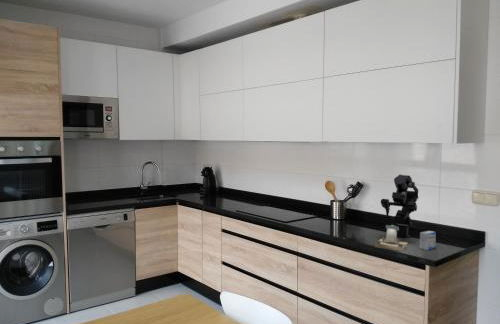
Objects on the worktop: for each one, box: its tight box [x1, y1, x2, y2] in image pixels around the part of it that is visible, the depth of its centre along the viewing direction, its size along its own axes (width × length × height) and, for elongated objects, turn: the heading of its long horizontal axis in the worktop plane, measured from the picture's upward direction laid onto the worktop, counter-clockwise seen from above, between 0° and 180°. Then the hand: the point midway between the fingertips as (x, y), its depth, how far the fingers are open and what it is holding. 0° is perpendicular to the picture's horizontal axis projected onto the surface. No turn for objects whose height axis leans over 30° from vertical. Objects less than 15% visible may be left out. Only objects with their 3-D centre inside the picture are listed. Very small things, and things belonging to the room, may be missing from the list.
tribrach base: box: [374, 236, 409, 252], centre depth 205 cm, size 12×14×5 cm
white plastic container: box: [385, 224, 399, 242], centre depth 205 cm, size 5×6×9 cm
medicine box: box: [419, 230, 437, 251], centre depth 203 cm, size 8×4×9 cm, turn 126°
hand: (395, 217), depth 214 cm, fingers open, 9 cm apart
